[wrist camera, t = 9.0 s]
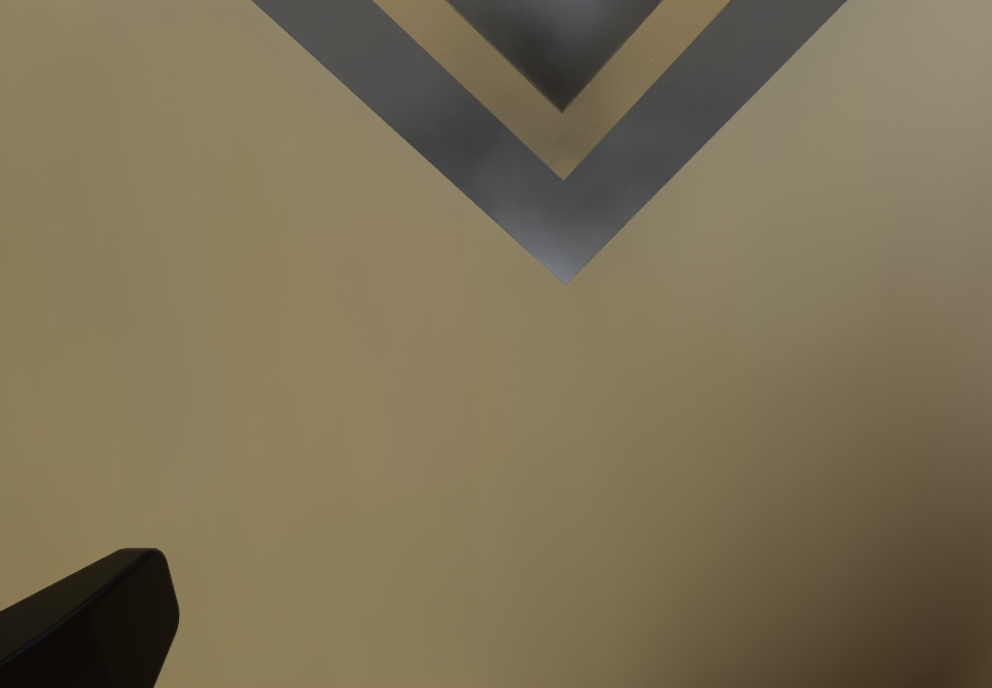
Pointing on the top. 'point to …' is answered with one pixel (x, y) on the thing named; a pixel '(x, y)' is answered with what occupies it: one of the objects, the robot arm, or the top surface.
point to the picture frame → (554, 95)
